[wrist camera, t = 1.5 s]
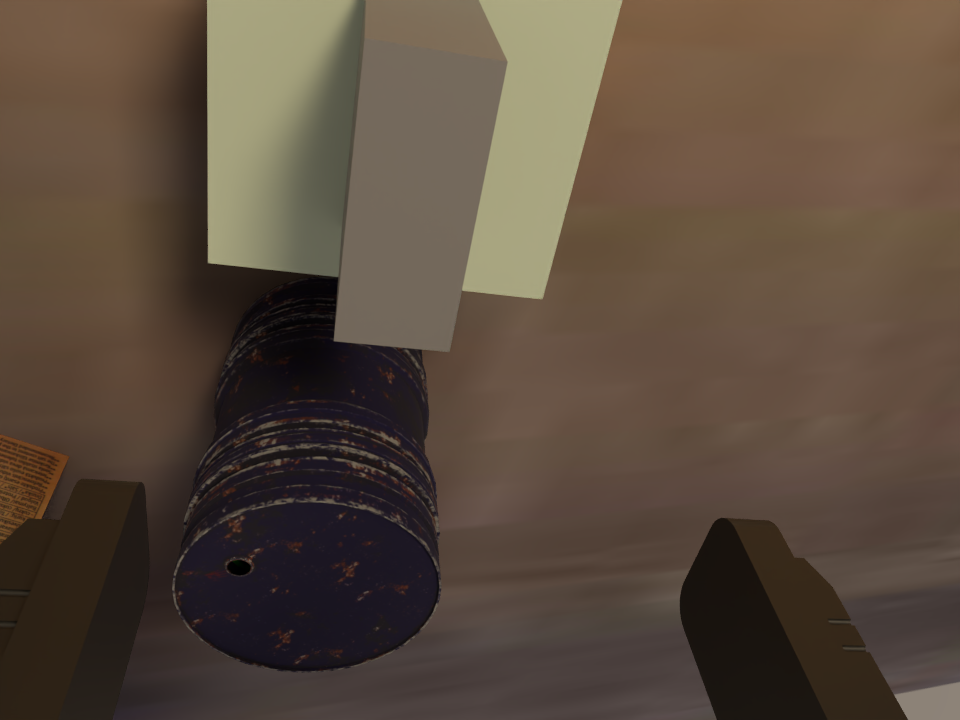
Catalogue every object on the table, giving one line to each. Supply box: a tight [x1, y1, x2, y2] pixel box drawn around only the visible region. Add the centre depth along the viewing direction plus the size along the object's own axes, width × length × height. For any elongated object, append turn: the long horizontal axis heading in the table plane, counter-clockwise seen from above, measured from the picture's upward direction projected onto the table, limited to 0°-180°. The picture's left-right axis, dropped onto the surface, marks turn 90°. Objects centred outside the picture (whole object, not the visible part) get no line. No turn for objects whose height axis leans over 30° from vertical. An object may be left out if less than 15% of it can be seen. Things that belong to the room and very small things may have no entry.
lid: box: [207, 0, 622, 352], centre depth 24 cm, size 12×12×9 cm
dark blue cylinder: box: [172, 277, 441, 673], centre depth 36 cm, size 10×10×15 cm
